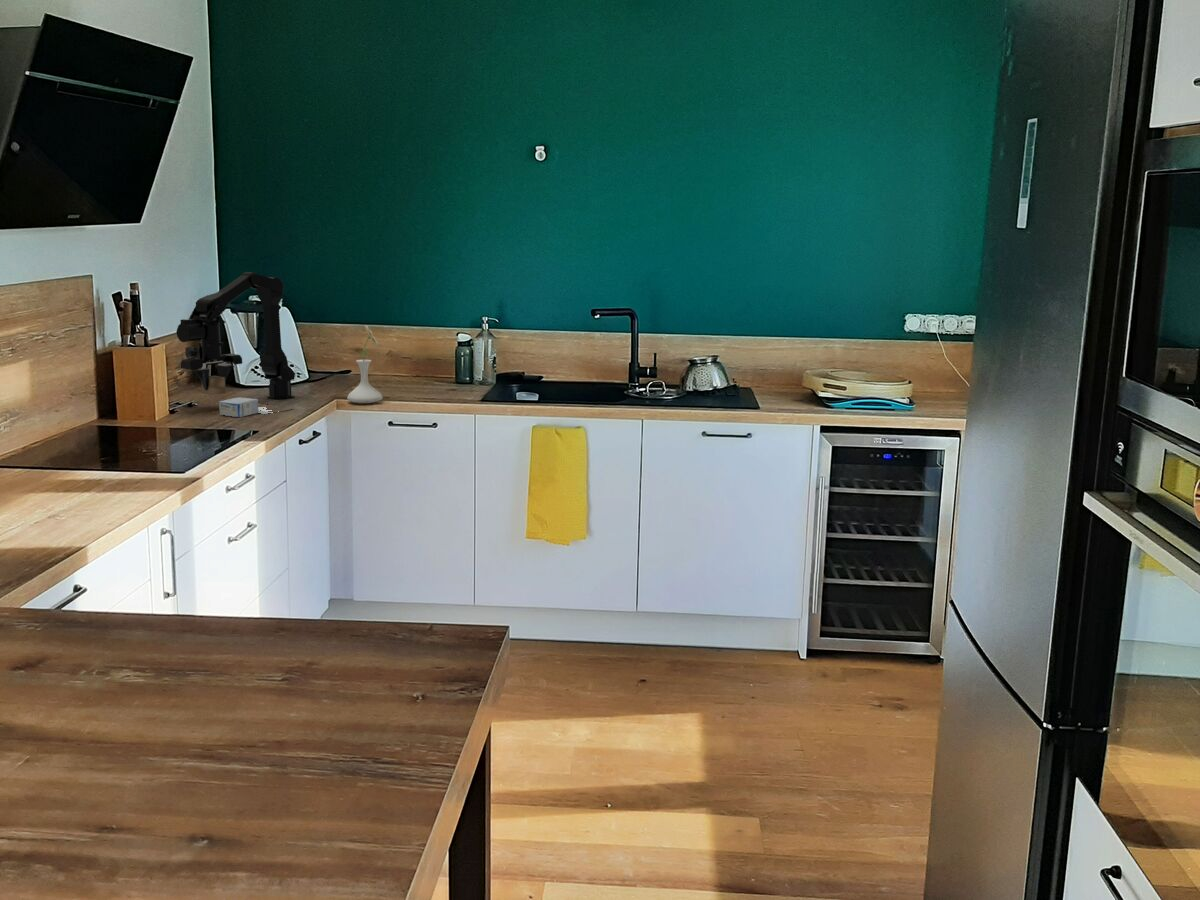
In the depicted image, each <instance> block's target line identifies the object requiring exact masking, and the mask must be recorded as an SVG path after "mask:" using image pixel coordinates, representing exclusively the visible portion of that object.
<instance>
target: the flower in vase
mask: <svg viewBox="0 0 1200 900" xmlns="http://www.w3.org/2000/svg"><path fill="white" fill-rule="evenodd" d="M364 327H365V331H366V332H367V334H368V337H367V339H366V341H365V344H364V346H363V350H362V352H361V353H360V354H359V356H360V357H362V359H357V360H355V362H356V364H357V365H358V367H359V372H360V382H359V384H358V385H356V387H355V388H353V390H352V391H350V392H349V394H348V395H347V397H346V399H347V400H348V402H349V401H350V402H351V403H354V404H373V403H377V402H380V401H382V399H383V394H382V393H381V392H380V391H379V390H377V389H376V388H374V387H373V386H372V385H371V384H370V382H369V375H368V374H369V367H370V365H371V362H372V360H371V359H365V356H369V352H368V350H367V348H366V346H367V343H368V341H369V340H371V341H372V342H373V344H374V345H375V346H376V347H379V342H378V341H377V340H376V336H374V334H373V331H372V329H370V328H369V326H368V324H366V325H364Z"/></svg>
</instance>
